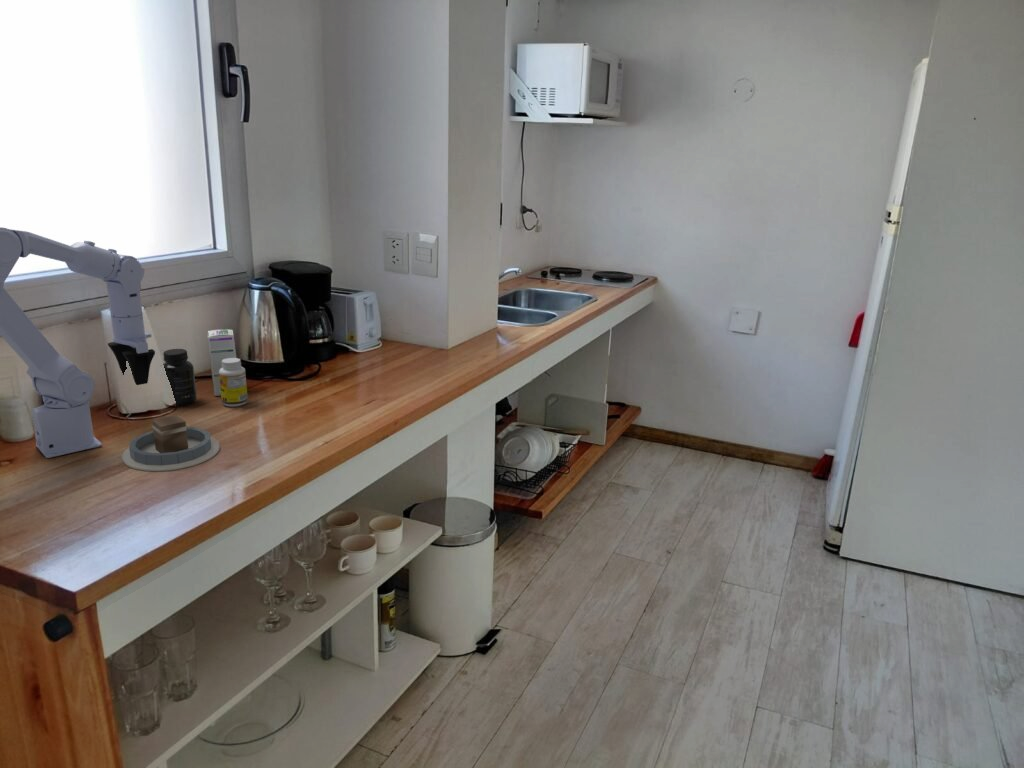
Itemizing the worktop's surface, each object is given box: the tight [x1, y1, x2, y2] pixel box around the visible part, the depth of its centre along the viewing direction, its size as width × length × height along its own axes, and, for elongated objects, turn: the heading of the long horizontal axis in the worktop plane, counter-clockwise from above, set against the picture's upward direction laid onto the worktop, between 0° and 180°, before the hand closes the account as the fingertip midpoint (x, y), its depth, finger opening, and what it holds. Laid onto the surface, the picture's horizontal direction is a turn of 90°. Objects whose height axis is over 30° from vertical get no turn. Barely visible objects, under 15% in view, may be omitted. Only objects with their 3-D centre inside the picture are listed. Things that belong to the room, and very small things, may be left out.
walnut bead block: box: [151, 414, 188, 453], centre depth 144 cm, size 5×5×6 cm
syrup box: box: [207, 328, 238, 397], centre depth 177 cm, size 6×6×14 cm
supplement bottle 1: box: [163, 348, 198, 408], centre depth 169 cm, size 7×7×12 cm
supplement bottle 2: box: [219, 357, 249, 408], centre depth 170 cm, size 6×6×10 cm
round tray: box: [121, 426, 221, 472], centre depth 144 cm, size 17×17×2 cm
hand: (135, 379), depth 156 cm, fingers open, 7 cm apart
